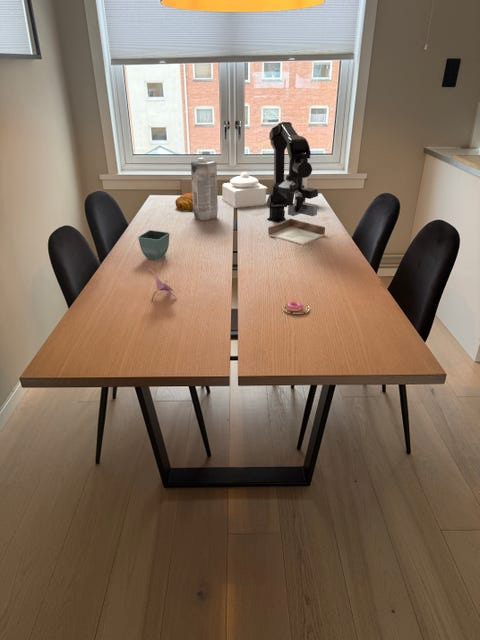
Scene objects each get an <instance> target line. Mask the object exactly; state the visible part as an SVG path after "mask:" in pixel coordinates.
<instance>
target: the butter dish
mask: <svg viewBox="0 0 480 640" xmlns="http://www.w3.org/2000/svg"><path fill="white" fill-rule="evenodd" d="M221 187H222V189H221V190H222V193H221V194H222V201H224V202H225V201H226V202H225V203H226V204H228V203H229V204H228V205H230V206H231V205H232V206H231V207H233V208H234V209H239V207H241V208H247V206H249V207H256V206H264V205H265V204H266V205H267V190H268V187H267V186H265V185H263V184H261V183H259V179H258V178H256V177H254V176H251V175H250V174H249V173H248V172H246V171H243V172H241V173H240V175H238V176H235V177H232V178H231V179H230V181H229V182H226V183H225V182H224V183H223V184H222V185H221Z"/></svg>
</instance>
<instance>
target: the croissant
mask: <svg viewBox="0 0 480 640" xmlns="http://www.w3.org/2000/svg"><path fill="white" fill-rule="evenodd" d="M174 202H175V203H174V204H175V207H176V209H177V210H179V211H185V212H187V211H188V212H194V211H193V196H192V192H187V193H184V194H182V195H180V196H179V197H177V198H176V199H175V201H174Z"/></svg>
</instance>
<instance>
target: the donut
mask: <svg viewBox="0 0 480 640" xmlns="http://www.w3.org/2000/svg"><path fill="white" fill-rule="evenodd" d="M286 304H287V305H286V309H287V310H286V309H285V308H284V309H285V310H286V311H285V310H284V309H283V306H282V310H283V311H284V312H286V313H288V314H291V313H290V312H292V311H298V312H293V313H292V315H301V314H306V313H308V312H310V311H311V308H310V307H309V309H308V311H307V312H305V311H304V312H305V313H300V312H301V311H302V310H303V307H304V305H303V303H301V302H298V301H289V302H288V303H286ZM289 310H290V311H289ZM300 310H301V311H300ZM287 311H288V312H287Z"/></svg>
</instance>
